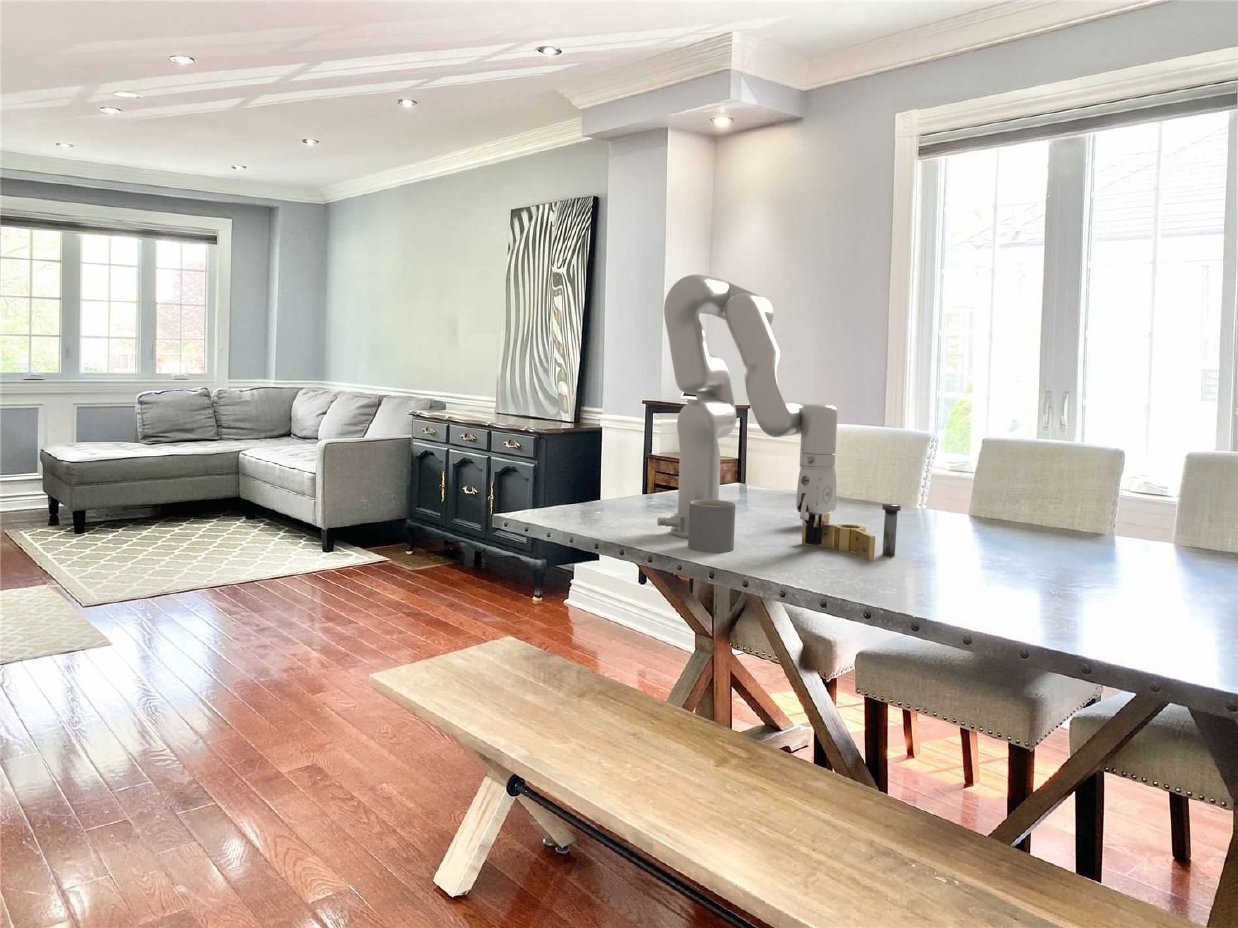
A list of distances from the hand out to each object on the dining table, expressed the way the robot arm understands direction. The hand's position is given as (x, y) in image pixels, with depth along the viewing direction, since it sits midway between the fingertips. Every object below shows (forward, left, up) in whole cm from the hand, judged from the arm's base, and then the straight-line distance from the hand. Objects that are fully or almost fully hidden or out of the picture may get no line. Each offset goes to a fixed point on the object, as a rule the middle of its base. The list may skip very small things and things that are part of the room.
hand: (813, 543), depth 205 cm
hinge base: (+9, -4, -1) cm, 9 cm away
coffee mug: (-21, +4, -2) cm, 22 cm away
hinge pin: (+15, -7, -1) cm, 16 cm away
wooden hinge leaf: (+3, +4, -1) cm, 5 cm away
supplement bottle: (+12, +27, -2) cm, 30 cm away
